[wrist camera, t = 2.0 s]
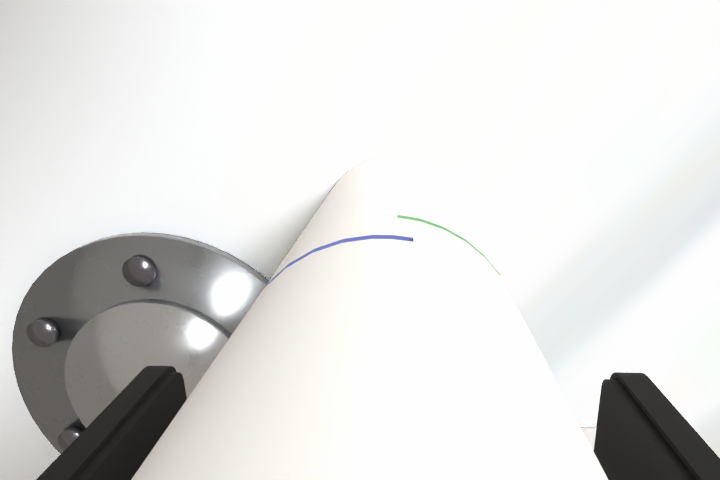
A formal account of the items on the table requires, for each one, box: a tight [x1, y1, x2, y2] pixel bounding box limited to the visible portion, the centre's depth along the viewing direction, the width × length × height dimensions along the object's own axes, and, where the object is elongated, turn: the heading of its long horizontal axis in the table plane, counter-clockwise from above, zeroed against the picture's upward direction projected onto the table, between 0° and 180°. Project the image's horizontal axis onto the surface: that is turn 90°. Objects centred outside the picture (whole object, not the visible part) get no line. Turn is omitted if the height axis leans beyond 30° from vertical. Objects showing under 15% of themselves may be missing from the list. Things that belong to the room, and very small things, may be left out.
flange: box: [12, 233, 269, 454], centre depth 27 cm, size 18×18×1 cm
